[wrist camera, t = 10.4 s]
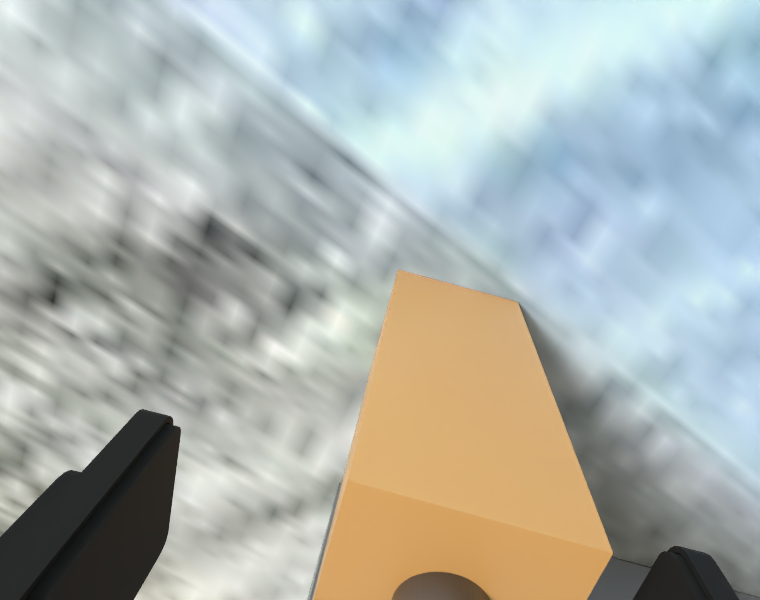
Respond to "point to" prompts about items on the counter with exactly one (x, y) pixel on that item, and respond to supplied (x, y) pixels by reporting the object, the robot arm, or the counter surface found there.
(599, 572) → the plug
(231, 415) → the counter surface
